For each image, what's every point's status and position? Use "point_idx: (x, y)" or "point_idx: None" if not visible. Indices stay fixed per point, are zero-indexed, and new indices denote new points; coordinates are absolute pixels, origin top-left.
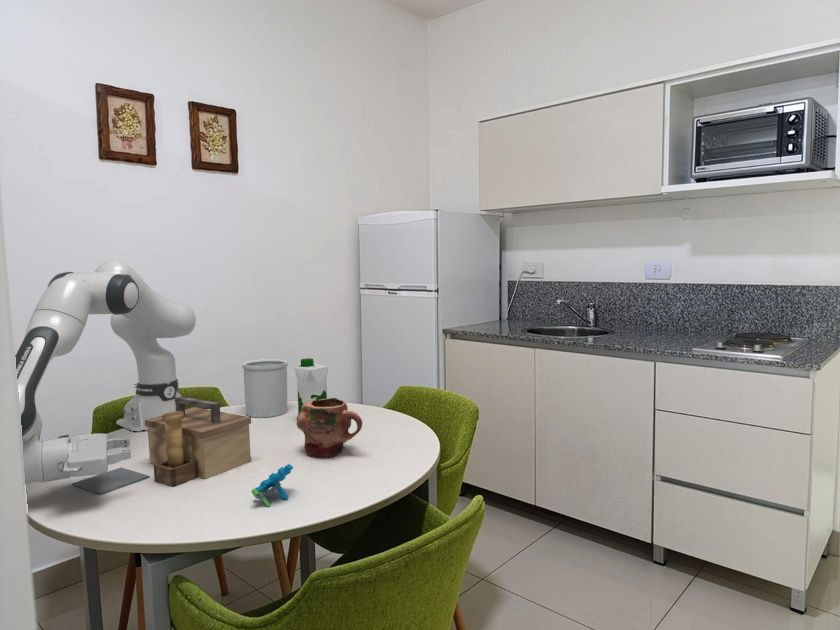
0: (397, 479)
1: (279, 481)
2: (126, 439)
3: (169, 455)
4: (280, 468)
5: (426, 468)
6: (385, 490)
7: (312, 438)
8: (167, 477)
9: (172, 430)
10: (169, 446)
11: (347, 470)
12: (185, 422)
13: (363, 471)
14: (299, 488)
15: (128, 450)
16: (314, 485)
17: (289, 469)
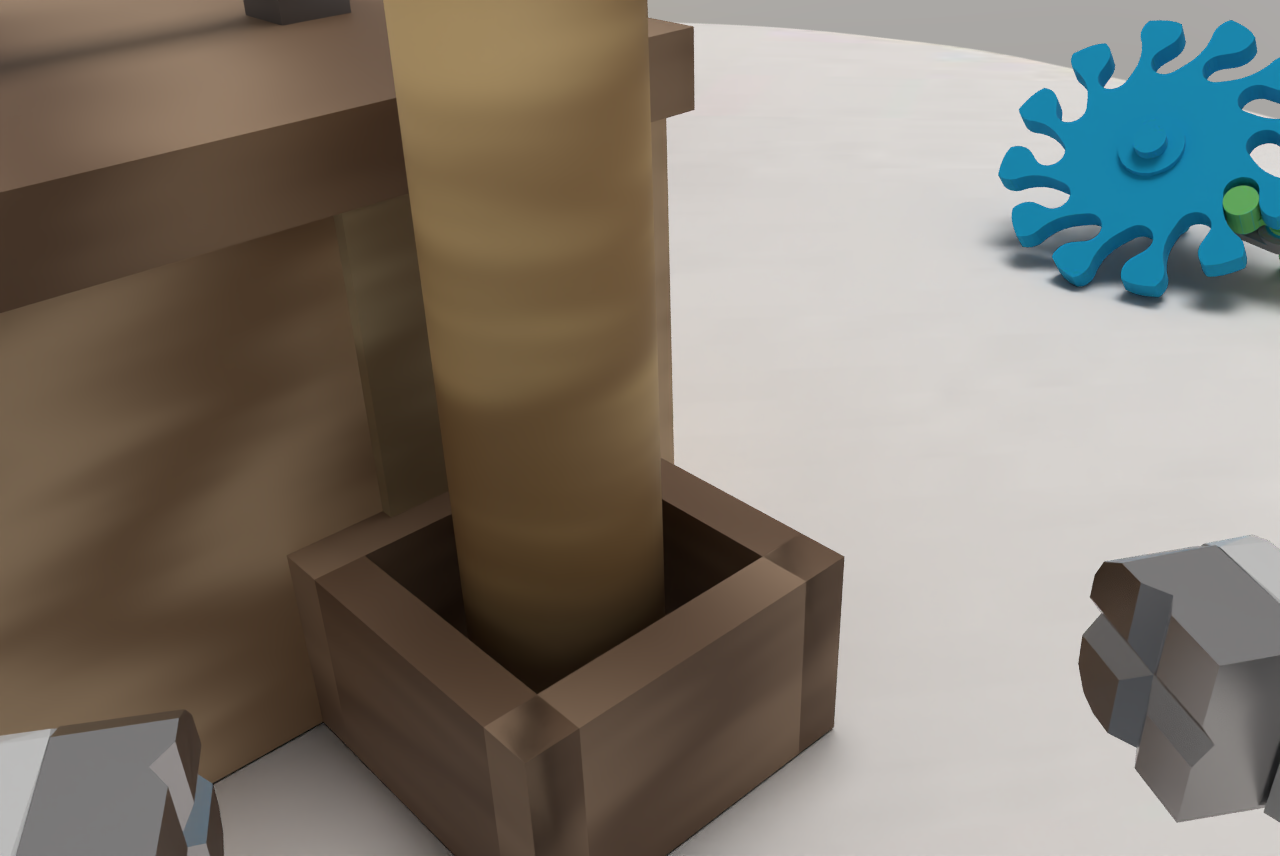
0: (932, 63)
1: (1052, 184)
2: (94, 750)
3: (640, 467)
4: (1247, 30)
5: (826, 32)
6: (1055, 79)
7: None
8: (770, 698)
9: (648, 66)
10: (637, 340)
11: (771, 123)
12: (35, 115)
13: (804, 101)
14: (1001, 206)
15: (1201, 553)
16: (963, 178)
17: (1112, 70)
